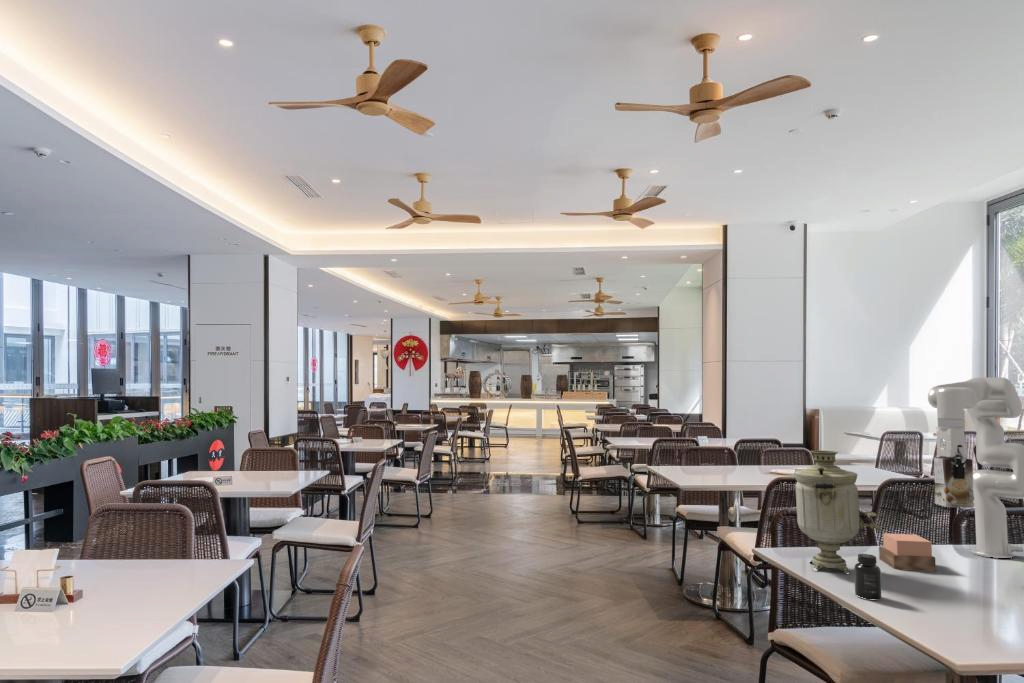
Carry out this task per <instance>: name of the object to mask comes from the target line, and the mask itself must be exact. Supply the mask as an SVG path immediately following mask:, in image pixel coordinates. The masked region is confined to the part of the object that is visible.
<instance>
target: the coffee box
mask: <svg viewBox="0 0 1024 683" xmlns="http://www.w3.org/2000/svg"><path fill="white" fill-rule="evenodd" d="M957 461H958V460H957ZM953 466H954V462H953V459H952V458H946V457H940V456H933V467H934V468H933V469H934V503H935V505H938V506H941V507H945V508H967V509H969V508H971V509H973V508H974V509H975V502H974V494H973V472H974V471H973V468H974V467H973V459H971V458H967V459H966V462H965V467H964V471H965V479H954V478H953Z"/></svg>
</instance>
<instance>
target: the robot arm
mask: <svg viewBox="0 0 1024 683" xmlns="http://www.w3.org/2000/svg"><path fill="white" fill-rule="evenodd" d="M1019 396H1020V395H1019V394H1018V392H1017V389H1016V388H1015V385H1014V384H1013V383H1012V382H1011V380H1009V379H1008V378H1007V377H974V378H970V379H968V380H965V381H959V382H952V383H944V384H938V385H935V386H933V387H931V388H930V389H929V392H928V394H927V399H928V400H927V401H928V403H929V405H930V406H932V408H935V409H937V434H936V454H937V456H938V457H946V458H952V459H953V462H954V466H953V478H954V479H965V471H964V467H965V462H966V459H968V455H967V443H966V436H965V430H964V429H965V428H966V427H965V426H966V424H965V410H966V411H967V413H968V415H969V417H970V418H971V419H972V420H971V421H972V422H973V424H974V426H975V430H976V431H975V432H976V437H975V439H976V442H975V444H976V445H975V446H976V447H975V452H976V453H975V455H976V461H977V463H978V464H980V465H981V466H983V467H984V466H985V467H992V468H1002V469H1003V468H1004V469H1011V470H1012V471H1005V470H994V469H993V470H992V469H977V470H974V471H973V499H974V516H975V517H974V519H975V521H974V522H975V544H976V547H972V548H971V553H972V554H974V555H977V556H980V557H985V558H990V557H993V558H992V559H998V558H1011V559H1013V558H1014V552H1016V553H1018V552H1019V553H1023V552H1024V547H1023V546H1019V545H1018V546H1017V545H1016V546H1015V545H1011V544H1010V543H1009V541H1008V520H1007V509H1006V506H1005V505H1004V503H1003V502H1002V501H1001V500H1000V499H999V498H1000V497H1001V498H1010V499H1017V500H1018V499H1019V500H1020V499H1021V500H1022V499H1024V445H1023V444H1022V443H1017V442H1005V430H1004V428H1003V426H1002V425H1001V424H1000V423H999V422H998V421H997V420H996V418H1001V419H1003V418H1004V419H1005V418H1006V419H1015V418H1018V417H1020V416H1021V415H1022V413H1023V404H1022V400H1021V398H1020V397H1019ZM957 460H958V461H957ZM1012 557H1013V558H1012Z"/></svg>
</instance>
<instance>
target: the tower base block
mask: <svg viewBox="0 0 1024 683" xmlns="http://www.w3.org/2000/svg"><path fill="white" fill-rule="evenodd" d="M878 556H879V557H878V558H879V559H878V560H880V561H882V563H885V564H886V565H887V566H889V567H890V568H892V569H894V570H904V569H908V570H907V571H909V570H910V571H922V570H926V571H925V572H936V566H937V565H936V557H935V556H934V555H932V557H924V556H902V555H896V554H894V553H893V552H891V551H889V550H887V549H886V548H884V545H883V546H881V545H879V546H878Z"/></svg>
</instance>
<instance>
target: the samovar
mask: <svg viewBox="0 0 1024 683" xmlns="http://www.w3.org/2000/svg"><path fill="white" fill-rule="evenodd" d="M809 453H811V454H812V455H813V461H814V462H815V464H813V465H811V466H809V467H808V468H804V469H799V470H795V471H793V476H794V478H795V480H796V481H797V482H796V483H795V500H796V501H795V502H796V516H797V517H796V521H797V525H798V528H799V529H800V531H801V532H802V533H803V534H805V535H806V536H807V537H808V538H809V539H811V540H813V541H815V542H817V549H820V552H818V553H816V555H814V556H812V559H811V560H810V561H811V562H812V563H811V564H813V565H814V567H813V568H816V569H819V570H820V569H822V568H827V569H829V568H831V569H838V570H840V571H842V572H843V573H844V574H845V573H850V571H848V570H847V567H848V566H847V561H846V560H845V559H844V558H843V557H842V556H841V555H839V554H837V551H840V550H841V544H842V543H843V544H844V543H846V542H849V541H850V540H851V541H852V539H853V538H855V537H856V536H857V535H858V533H859V532H860V530H863V529H864V527H868V528H869V529H870V530H875V529H876V530H877V531H878V532H881V531H883V528H881V526H880V525H878V524H876V523H875V522H874V520H873V517H875V516H877V514H876V513H875V512H873V511H865V512H864V515H866V516H867V517H869V522H863V519H862V518H860V507H859V506H860V504H859V503H860V502H859V488H858V487H857V485H856V482H857V479H858V474H859V473H857V472H853V471H851V470H847V469H842V468H841V467H840V466H837V465H834V463H835V462H836V455H837V454H838V453H839V451H834V450H810V451H809Z"/></svg>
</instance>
